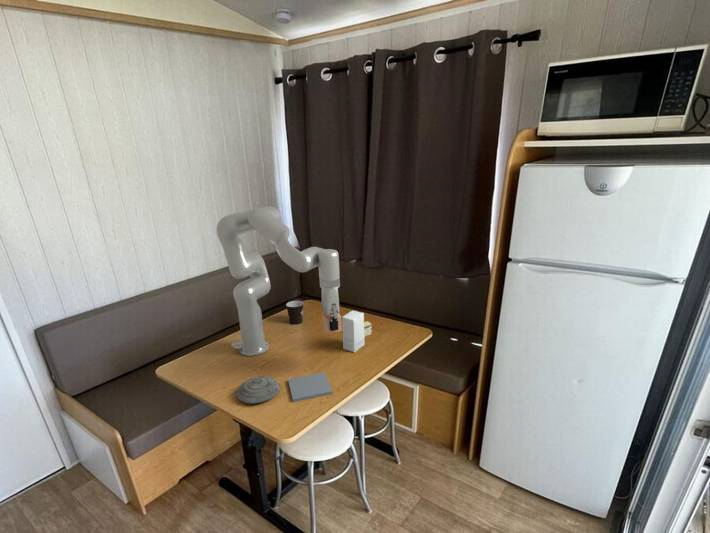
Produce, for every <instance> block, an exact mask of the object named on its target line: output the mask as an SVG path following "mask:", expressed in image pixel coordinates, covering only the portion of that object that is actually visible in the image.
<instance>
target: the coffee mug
mask: <svg viewBox="0 0 710 533" xmlns="http://www.w3.org/2000/svg"><path fill="white" fill-rule="evenodd" d="M285 307H286V310H287V316H288V319H289V324H291V325H294V326H295V325H300V324H302V323H303V316H304V302H303V301H301V300H291V301H288V302H287V303H286V304H285Z"/></svg>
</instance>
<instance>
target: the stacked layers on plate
mask: <svg viewBox="0 0 710 533" xmlns="http://www.w3.org/2000/svg"><path fill="white" fill-rule="evenodd" d="M372 327H373V326H372V323H371V322H369V321H364V338H365V337H367V336H370V335H372V332H373V330H372Z"/></svg>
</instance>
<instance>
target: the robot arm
mask: <svg viewBox="0 0 710 533" xmlns="http://www.w3.org/2000/svg"><path fill="white" fill-rule="evenodd" d="M217 222H218V223H217V225H216V235H217V238H218V241H219V243H220V245H221V247H222V249H223V252H224V256H225V259H226V262H227V266H228V268H229V271H230V275H231V276H232V277H233V279H236V280H241V279H245V278H247V279H246V280H243V281H241V282H240V283H238V284H237V285H236V286H234V289H233V292H232V293H233V294H232V295H233V299H234V301H235V304H236V308H237V315H238V320H239V328H240V334H241V335H240V336H241V339H240V341H239V340H238V342H231V348H234V349H235V350H238V349H239V353H240V354H241V355H243V356H248V357H252V356H254V357H255V356H258V355H261V354H264V353H265V352H266V351H268V349H269V348H270V344H269V343H268V342H267V341H266V340H265V332H264V322H263V314H262V309H261V307H260V304H259V303H258V302H257V300H260V299H261V298H262V297H265V296H266V295H268V294H269V293H270V290H271V289H272V288H271V280H270V276H269V273H268V269H267V266H266V263H265V261H264V258H263V256H262V255H261V254H260V253H258V252H257V251H248V252H247V249H246V245H245V243H244V242H243V240H242V239H241V238H240V237H239V235H242V234H245V233H249V232H253V231H256V232H257V233H258V234H260V235H261V236H262V237H264V238H265V240H266V239H267V241H269V242H271V244H273V246H275V250H276V252H277V255H278V256H279V258H280V260H282V261H283V262H284V263H285V264H286V265H287V266H289V267H290V268H292V269H293V270H294V271H296V272H298V273H306V272H309V271H310V270H312V269H314V268H316V267H318V278H319V288H321V308H322V309H323V312H324V313H326V314H327V315H330V321H329V322H330V331H334V330H338V315H337V313H339V314H340V298H339V288H340V286H341V280H340V279H341V278H340V260H339V258H340V256H339V252H338V251H337V249H333V248H332V249H331V248H327V249H325V248H322V247H319V246H310V247H308V248H305V249H303V250H301V251H300V250H299V249H297V248H296V247H294V245H292V244H291V242H290V241H289V240H288V239H289V237H290V236H291V230H290V228H289V227H288V226H287V225H286V224H284V223H283V222H282V215H281V212H280V210H278V209H277V208H276V207H275V206H270V205H269V206H268V205H267V206H263V207H260V208H259V207H258V208H255V209H251V210H250V209H249V210H246V211H240V212H235V213H231V214H228V215H226V216H224V217H222V218H220V219H219V221H217ZM248 277H250V278H248ZM332 311H333V313H331V312H332ZM332 315H333V316H332Z"/></svg>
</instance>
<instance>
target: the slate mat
mask: <svg viewBox="0 0 710 533" xmlns="http://www.w3.org/2000/svg"><path fill="white" fill-rule="evenodd" d="M287 382H288V386H289V391H290V394H291V398H292V403H294V402H299V401H305V400H308V399H314V398H318V397H319V398H320V397H323V396H327V395H332V394H333V389H332V387H331V385H330V382H329V379H328V377H327V375H326V373H325V371H323V372H317V373H314V374H307V375H302V376H297V377H292V378H288V379H287Z"/></svg>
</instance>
